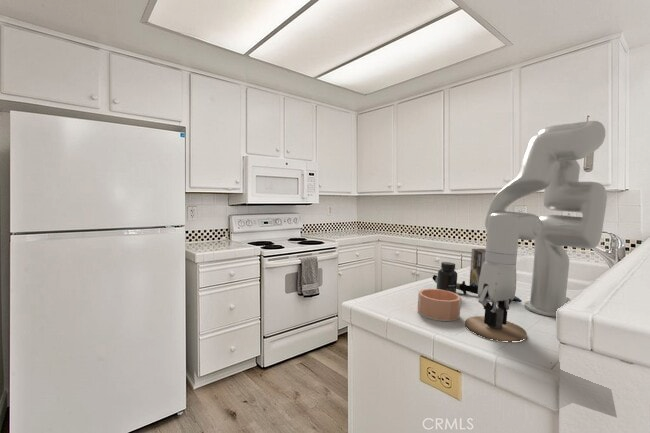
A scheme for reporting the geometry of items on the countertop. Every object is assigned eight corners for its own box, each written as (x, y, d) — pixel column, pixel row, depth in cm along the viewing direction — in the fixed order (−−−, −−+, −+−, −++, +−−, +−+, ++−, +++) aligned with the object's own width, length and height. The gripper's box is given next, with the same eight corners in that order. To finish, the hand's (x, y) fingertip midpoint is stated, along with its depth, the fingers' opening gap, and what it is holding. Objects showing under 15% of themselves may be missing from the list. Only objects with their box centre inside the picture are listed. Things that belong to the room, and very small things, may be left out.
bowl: (438, 304, 109) (439, 287, 109) (467, 318, 98) (469, 298, 98) (410, 309, 104) (411, 291, 103) (438, 323, 93) (439, 303, 92)
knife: (430, 285, 127) (432, 274, 127) (432, 283, 130) (434, 272, 129) (520, 310, 112) (522, 298, 112) (520, 308, 115) (522, 296, 114)
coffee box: (495, 295, 123) (499, 252, 121) (478, 294, 123) (481, 252, 121) (484, 287, 132) (487, 248, 130) (468, 287, 132) (471, 247, 131)
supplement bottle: (452, 299, 115) (455, 266, 114) (433, 295, 119) (435, 263, 119) (458, 295, 121) (460, 263, 120) (439, 291, 125) (441, 260, 124)
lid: (488, 316, 100) (490, 297, 100) (538, 337, 87) (540, 315, 86) (453, 323, 94) (454, 303, 93) (501, 347, 80) (503, 323, 80)
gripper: (507, 254, 96) (502, 315, 97) (467, 257, 88) (462, 323, 90) (533, 259, 89) (527, 324, 90) (492, 263, 82) (486, 334, 83)
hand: (495, 323), depth 90 cm, fingers closed on lid, 3 cm apart
